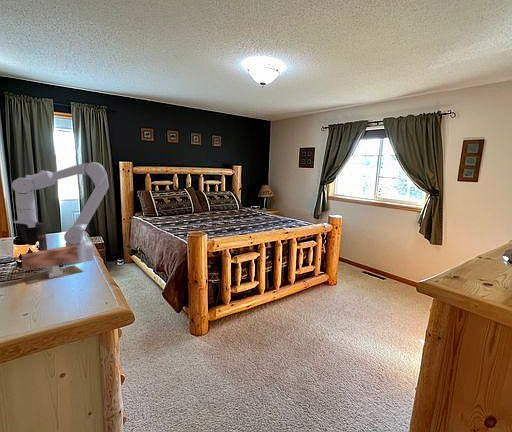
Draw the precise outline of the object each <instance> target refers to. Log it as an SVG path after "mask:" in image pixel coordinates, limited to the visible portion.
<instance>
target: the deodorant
mask: <svg viewBox="0 0 512 432" xmlns="http://www.w3.org/2000/svg"><path fill="white" fill-rule="evenodd" d="M35 227H40V229H39V231H38V234H37V238H36V239H37V240H38V241H39V248H40V251H43V250H48V243H47V233H46V223H45V222H36V223H35Z"/></svg>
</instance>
